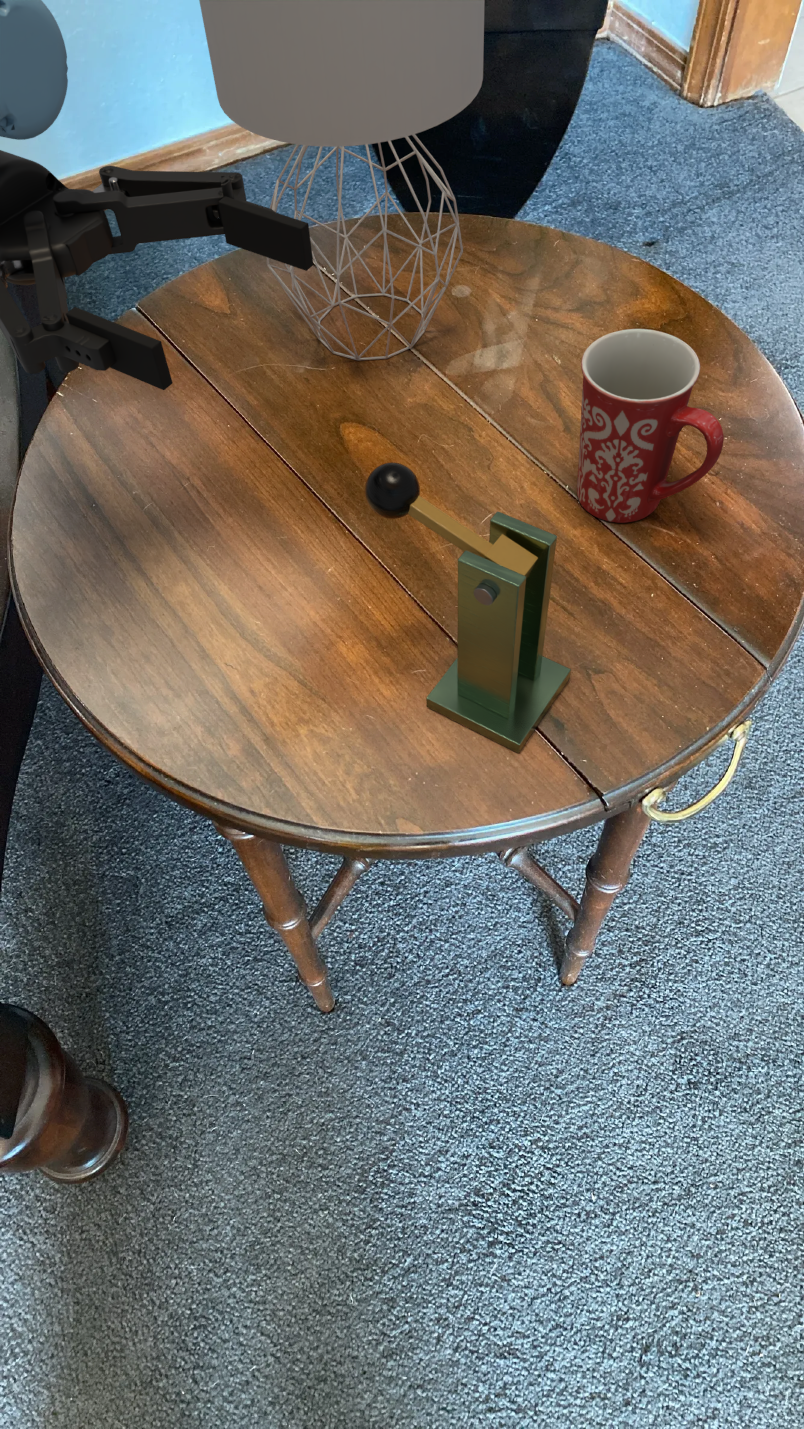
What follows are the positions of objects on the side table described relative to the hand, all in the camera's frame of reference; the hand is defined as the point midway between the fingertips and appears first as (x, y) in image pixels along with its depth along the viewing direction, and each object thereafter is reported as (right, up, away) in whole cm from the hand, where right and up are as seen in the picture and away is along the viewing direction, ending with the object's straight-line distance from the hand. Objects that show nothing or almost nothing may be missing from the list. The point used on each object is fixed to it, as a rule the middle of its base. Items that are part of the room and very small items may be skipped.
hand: (239, 303), depth 57 cm
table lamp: (+6, +16, +44) cm, 47 cm away
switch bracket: (+17, -22, +17) cm, 33 cm away
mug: (+30, -6, +28) cm, 41 cm away
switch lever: (+12, -13, +8) cm, 19 cm away
